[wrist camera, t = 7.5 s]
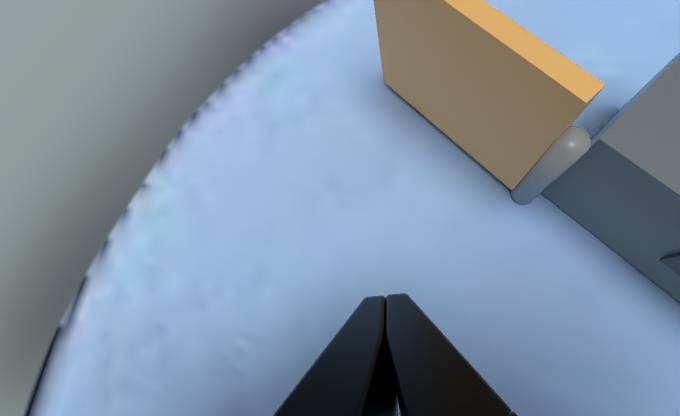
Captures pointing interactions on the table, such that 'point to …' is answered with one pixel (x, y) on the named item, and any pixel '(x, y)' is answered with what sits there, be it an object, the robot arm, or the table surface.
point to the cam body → (633, 182)
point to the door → (488, 87)
